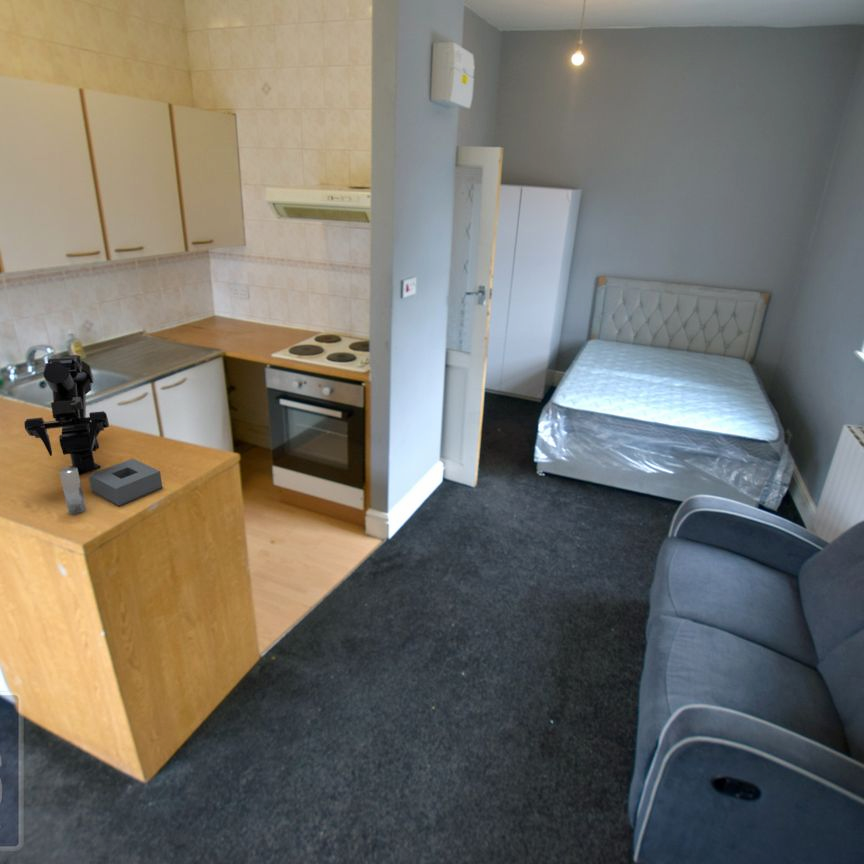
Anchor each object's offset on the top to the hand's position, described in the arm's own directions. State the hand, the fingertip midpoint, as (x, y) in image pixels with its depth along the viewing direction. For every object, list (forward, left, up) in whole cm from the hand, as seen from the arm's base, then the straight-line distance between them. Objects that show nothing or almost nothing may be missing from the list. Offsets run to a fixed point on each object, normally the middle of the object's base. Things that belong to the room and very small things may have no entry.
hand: (71, 452), depth 153 cm
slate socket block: (+6, +10, -13) cm, 18 cm away
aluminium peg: (+6, -4, -13) cm, 15 cm away
